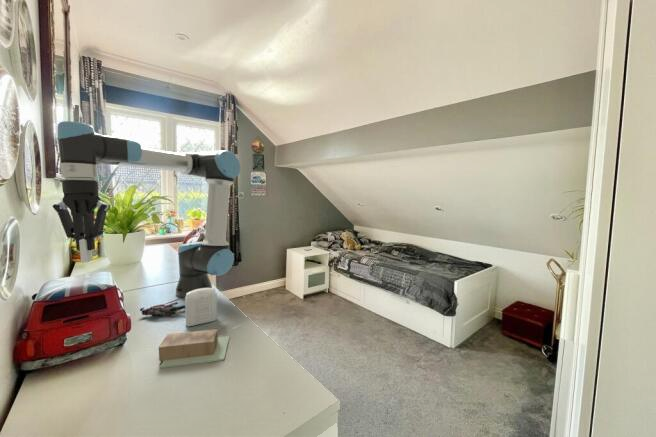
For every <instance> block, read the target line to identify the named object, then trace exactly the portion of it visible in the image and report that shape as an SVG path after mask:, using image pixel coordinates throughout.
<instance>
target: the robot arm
mask: <svg viewBox="0 0 656 437" xmlns="http://www.w3.org/2000/svg"><path fill="white" fill-rule="evenodd" d="M56 140H57V144H58V151H59V163H60V175H61V177H62V178H63V180H62V181H61V185H62V188H61V189H62V193H63V197H62V201H60V202H59V203H56V204H53V205H52V208H53V209H54V210H55V211H56V213H57V215H58V217H59V220H60V223H61V226H62V228H63V230H64V234H65V236H66V238H68V239H69V238H70V239H74V240H75V246H76V247H75V248H76V250H77V251H79V254H80V263H89V262H92V261H93V259H94V258H93V250H95V248H96V242H95V239H96V238H98V237H100V236H103V230H104V226H105V221H106V217H107V212H108V211H109V209H110V208H111V204H109V203H105V202H103V201H101V197H100V196H99V182H98V181H97V179H98V169H97V168H98V167H97V165H99V164H103V165H113V166H114V165H115V166H124V167H132V168H133V167H135V168H142V169H143V168H144V169H154V170H163V171H173V172H180V173H181V174H182V175H186V176H188V175H189V176H194V177H199V178H200V177H201V178H204V179H205V180H204V181H206V183H207V184H208V188H207V191H208V192H207V202H206V203H207V206H206V216H205V217H206V218H205V228H204V229H205V231H204V232H205V234H204V239H203V241H194V242H187V243H183V244H181V245H179V246H178V248H177V249H178V250H177V252H178V253H177V257H178V273H179V276H178V281H177V283H176V288H175V296H177V297H178V298H185V297H186V293H188V292H190V291H193V290H196V289H200V288H213V284H212V281H211V279H210V277H209V275H210V276H218V277H219V276H222V275H225V274H226V273H228V272H229V270H231V268H232V267H233V265H234V261H235V256H234V253H233V252H232V251H231V249H230V243H229V242H228V241H227V229H228V228H227V227H228V215H229V200H230V188H231V186H232V185H233V184H234V183H235V182H234V181H235V178H236V177H238V176H239V174H240V173H241V164H240V163H241V162H240V159H239V158H238V157H237V156H236V154H235V153H234V152H232V151H230V150H222V149H220V150H214V151H200V152H186V151H184V152H182V153H179V152H173V151H165V150H160V149H156V148H155V149H154V148H148V147H142V145H141V144H140V142H139V141H138V140H135V139H131V138H128V137H121V136H120V137H119V136H112V135H106V134H102V133H101V134H100V133H97V132H96V131H95V129H94V127H93V126H92V125H91V124H88V123H85V122H79V121H68V120H66V121H60V122H59V123H57V137H56ZM96 208H97V211H96V216H95V218H94V215H95V209H96ZM69 210H70V211H69Z"/></svg>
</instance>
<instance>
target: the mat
mask: <svg viewBox="0 0 656 437" xmlns="http://www.w3.org/2000/svg"><path fill="white" fill-rule="evenodd" d="M230 338H231V337H230V335H228V336H227V335H226V336H218V343H217V346H216V349H215V352H214V355H207V356H198V357H190V358H181V359H173V360H165V361H162V363H161V365H160V366H159V368H160V369H163V368H172V367H180V366H188V365H196V364H204V363H212V362H214V363H215V362H220V361H225V357H226V354H227V349H228V346H229V340H230Z"/></svg>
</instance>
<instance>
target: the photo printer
mask: <svg viewBox="0 0 656 437" xmlns="http://www.w3.org/2000/svg"><path fill="white" fill-rule="evenodd" d="M184 298H185V299H184V305H185V308H184V310H185V312H184V313H185V326H186V327H192V326H193V327H194V326H197V325H201V324H207V323H210V322H214V321H217V318H218V316H217V315H218V314H217V313H218V311H217V309H218V308H217V292H216V289H215V288H213V287H212V288H200V289H196V290H193V291H190V292H188V293H186V297H184Z"/></svg>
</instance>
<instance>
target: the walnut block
mask: <svg viewBox="0 0 656 437" xmlns="http://www.w3.org/2000/svg"><path fill="white" fill-rule="evenodd" d="M218 333H219V332H218V329H216V328H215V329H206V330H204V329H203V330H194V331H185V332H184V331H183V332H175V333H174V332H173V333H168V334H166V336H165V337H164V338H163V340H162V341H161V343H160V344H159V346H158V361H159V362H163V361H165V360H173V359H181V358H190V357H198V356H207V355H214V352H215V349H216V346H217V343H218V337H219V334H218Z"/></svg>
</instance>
